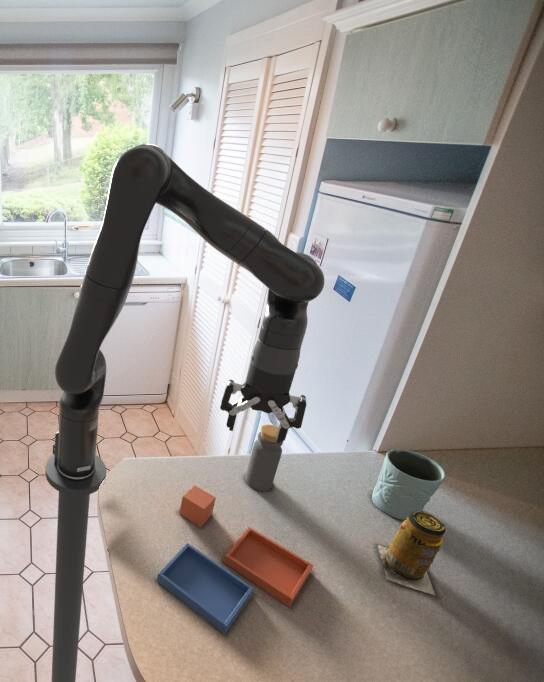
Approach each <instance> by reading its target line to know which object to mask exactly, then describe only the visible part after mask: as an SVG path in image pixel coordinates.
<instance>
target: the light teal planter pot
mask: <svg viewBox="0 0 544 682" xmlns="http://www.w3.org/2000/svg"><path fill="white" fill-rule="evenodd" d="M377 478H378V479H377V481H376V484H375V487H374V489H373V491H372V495H371V500H372V502H373V504H374V505H375V506H376V508H378V509H379V510H380V511H382V512H383V513H384V514H387V515H388V516H390V517H393V518H396V519H398V520H402V521H406V519H407V518H408V516H409V514H410V513H411V512H414V511H422V512H424V509H425V506H426V505H427V504H428V503H429V502H430V500H431V497H433V496H434V494H435V493H437V490H438V489H439V488H440V486H441V485H442V484H443V482H444V480H445V479H446V472H445V470H444V469H443V468H442V466H441V465H440V464H439V463H437V462H436V461H435V460H433V459H432V458H429V457H428V456H426V455H424V454H421V453H419V452H416V451H413V450H409V449H402V448H394V449H391V450H388V451H387V452H386V454H385V457H384V460H383V463H382V467H381V470H380V472H379V476H378V477H377Z"/></svg>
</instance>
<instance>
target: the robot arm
mask: <svg viewBox="0 0 544 682" xmlns="http://www.w3.org/2000/svg"><path fill="white" fill-rule="evenodd" d="M156 204H157V205H159V206H162V207H163V208H165V209H167V210H169V211H170V212H172V213H173V214H174V215H176V216H178V218H180V219H181V220H183V221H184V222H185V223H186V224H187V225H188V226H190V227H191V228H192V229H193V231H194V232H196V234H198V235H199V236H200V237H201V238H202V239H203V240H204V241H205V242H206V243H207V244H209V246H211V247H212V248H213V249H215V250H216V251H217V252H219V254H222V255H223V256H224V257H226V258H228V259H229V260H231V262H233V263H235V264H237V265H238V266H240V267H241V268H243V269H245V270H246V271H248V272H249V273H251V274H252V275H253V276H254V277H255V278H256V279H257V281H260V283H262V284H263V285H264V286H265V287H266V288H268V289H267V296H266V297H267V298H266V307H265V312H264V315H263V318H262V320H261V324H260V327H259V333H258V337H257V339H256V342H255V345H254V347H253V349H252V354H251V356H250V361H249V362H250V363H249V366H248V370H247V374H246V379H245V381H244V383H243V384H240V383H237V382H235V381H234V380H233V379H228V380H227V382H226V386H225V388H224V392H223V395H222V399H221V402H220V403H221V404H220V407H219V409H220V410H221V411H225V412H227V414H228V416H227V420H226V428H229V429H228V431H231V432H233V431H234V428H235V425H236V419H237V416H238V415H237V414H239V413H241V412H244V411H246V410H247V409H249V408H251V410H252V411H258V412H260V411H261V412H264V413H266V414H270V413H273V414H274V416H275V418H276V419H277V421H278V422H279V425H278V427H279V428H278V432H277V435H276V442H277V443H280V442H281V441H283V442H284V441H286V438H287V436H288V433H289V430H290V428H295V429H301V428H302V426H303V421H304V417H305V413H306V408H307V397H306V395H304V394H299V396H295V395H290V391H291V388H292V386H293V385H292V384H293V381H294V377H295V374H296V371H297V369H298V366H299V361H300V356H301V349H302V345H303V342H304V340H305V339H304V338H305V335H306V332H307V328H308V320H309V319H308V312H307V311H308V306H309V302H312V301H313V300H315V299H316V298H317V297H319V295H321V293H322V292H323V290H324V288H325V275H324V272H323V270H322V268H320V265H318V263H317V261H316V260H315V259H314V258H313V257H312V256H310V255H309V254H306V253H304V252H296V251H294V250H292V249H291V248H289V247H288V246H286V245H284V244H283V243H281V241H280V240H279V239H278V237H276V235H274V234H273V233H272V232H271V231H270V230H268V229H267V228H265V227H263V226H262V225H261V224H259V223H258V222H256V221H255V220H253V219H252V218H250V217H249V216H247V215H246V214H244V213H242V212H241V211H240V210H237V209H236V208H235V207H233V206H232V205H230V204H229V203H227V202H225V201H224V200H222V199H220V198H219V197H217V195H215V194H213V193H212V192H211V191H209V190H207V189H206V188H205V187H204V186H203V185H201V184H199V183H198V182H197V181H196V180H195V179H193V178H192V177H191V176H190V175H189V174H187V172H185V170H183V169H182V168H181V167H180V166H179V165H178V164H177V163H176V162H175V161H174V160H173V159H172V158H171V157H170V156H169V155H168V154H167V152H165V150H164V149H163V148H161V147H160V146H158V145H155V144H152V143H143V144H138V145H135V146H133V147H131V148H129V149H127V150H125V151H124V152H123V153H122V154H121V155H120V156H119V157H118V159H117V160H116V162H115V163H114V166H113V168H112V172H111V176H110V183H109V188H108V195H107V199H106V205H105V211H104V214H103V215H104V216H103V220H102V223H101V227H100V230H99V233H98V234H97V237H96V240H95V242H94V244H93V248H92V251H91V253H90V256H89V260H88V262H87V265H86V269H85V272H84V275H83V278H82V282H81V286H80V289H79V294H78V297H77V301H76V305H75V308H74V312H73V316H72V318H71V319H72V320H71V324H70V328H69V331H68V334H67V336H66V339H65V342H64V344H63V346H62V349H61V351H60V353H59V356H58V358H57V361H56V363H55V367H54V377H55V381H56V383H57V385H58V387H59V389H61V390H62V392H63V393H62V394H61V396H60V399H59V405H58V406H59V407H58V431H57V432H56V433H55V434H54V443H53V444H52V455H53V454H54V455H55V459H54V465H56V466H57V470H58V472H59V474H60V475H61V476H62V477H64V478H66V479H68V480H72V481H83V480H86V479H88V478H90V477H91V476H92V475H93V474H94V471H95V455H97V454H96V453H97V444H98V443H97V442H98V429H99V418H100V417H99V415H100V407H101V404H102V402H103V399H104V394H105V385H106V379H107V361H106V357H105V355H104V353H103V351H102V350H101V347H102V345H103V343H104V340H105V339H106V337H107V336H108V334H109V333H110V331H111V329H112V328H113V326H114V324H115V323H116V321H117V319H118V317H119V316H120V314H121V312H122V311H123V309H124V307H125V304H126V301H127V299H128V296H129V294H130V290H131V287H132V284H133V281H134V277H135V275H136V270H137V266H138V265H137V264H138V260H139V259H138V258H139V251H140V245H141V241H142V236H143V234H144V231H145V228H146V226H147V224H148V221H149V219H150V216H151V214H152V212H153V210H154V207H155V205H156ZM237 392H240V393H241V395H242V396H241V397H239V399H238V400H236V401H235V402H233V403H230V399H231V397H232V395H235V394H237ZM289 403H291V404H292V408H294V409H295V410H294V415H293V417H289V415H288V414H287V412H286V410H285V406H286V405H288V404H289Z"/></svg>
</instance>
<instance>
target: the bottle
mask: <svg viewBox="0 0 544 682" xmlns="http://www.w3.org/2000/svg"><path fill="white" fill-rule="evenodd" d="M278 428H279V426H277V425H273V424H264V425H262V426H261V427H260V431H259V432H258V434H257V439H256V440H255V441H254V443H253V444H252V445H253V446H252V449H251V452H250V457H249V461H248V463H247V468H246V472H245V476H244V481H245V483H246V484H247V485H248V486H250V488H253V489H254V490H256V491H263V492H265V491H268V490H270V489H271V488H272V487H273V483H274V480H275V477H276V473H277V470H278V467H279V463H280V460H281V457H282V454H283V447H282V446H283V443H284V441H281V442H280V443H277V442H276V435H277V432H278Z"/></svg>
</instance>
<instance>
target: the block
mask: <svg viewBox="0 0 544 682" xmlns="http://www.w3.org/2000/svg"><path fill="white" fill-rule="evenodd" d="M216 499H217V497H216V496H215V495H213V494H211V493H209V492H208V491H206V490H204V489H202V488H200V487H199V486H197V485H196V484H195V485H193V486H192V487H191V488H190V489H189V490H188V491H186V493H185V494H183V495H182V498H181V503H180V508H179V515H181V516H182V517H184V518H185V519H187V520H188V521H190V522H192V523H193V524H195V525H196V526H198V527H200V528H201V527H202V526H203V525H204V523H206V522H207V521H208V520H209V518H210V517H211V516H212V515H213V512H214V507H215V505H216V504H215V503H216Z"/></svg>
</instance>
